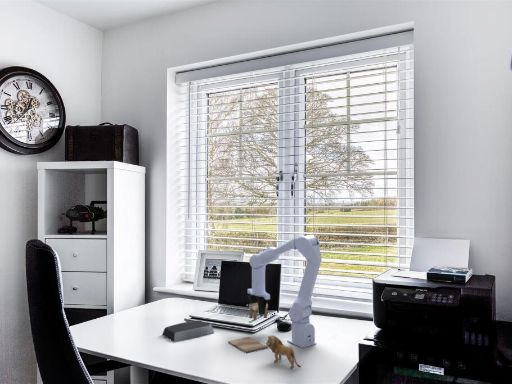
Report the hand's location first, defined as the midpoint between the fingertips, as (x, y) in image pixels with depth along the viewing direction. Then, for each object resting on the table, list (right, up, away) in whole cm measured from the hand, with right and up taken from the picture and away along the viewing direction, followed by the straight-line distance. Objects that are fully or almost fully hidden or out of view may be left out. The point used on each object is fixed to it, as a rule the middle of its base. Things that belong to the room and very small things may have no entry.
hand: (258, 312), depth 189 cm
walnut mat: (-4, -9, -15) cm, 18 cm away
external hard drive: (-30, -10, -1) cm, 32 cm away
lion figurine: (+8, -9, -33) cm, 36 cm away
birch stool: (0, -2, 0) cm, 2 cm away
